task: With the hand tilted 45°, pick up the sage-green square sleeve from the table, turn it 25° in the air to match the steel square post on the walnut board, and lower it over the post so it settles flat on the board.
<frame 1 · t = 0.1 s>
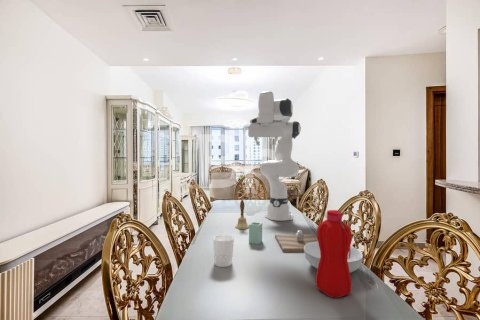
hand: (265, 145, 146), 48 cm above the table, tool pointing down, fingers open, 8 cm apart
board: (299, 244, 124), on the table
serving bowl: (332, 268, 98), on the table
post: (299, 235, 124), on the board, point 4 cm above the table
sleeve: (255, 242, 127), on the table
water bottle: (335, 292, 81), on the table
hand bell: (242, 227, 153), on the table
white cup: (223, 264, 101), on the table
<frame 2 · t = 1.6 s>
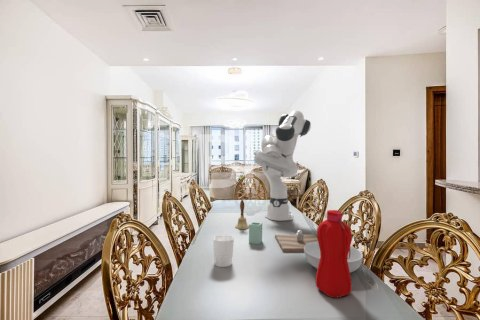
hand: (274, 172, 129), 34 cm above the table, tool tilted 55°, fingers open, 8 cm apart
nothing on the table moved.
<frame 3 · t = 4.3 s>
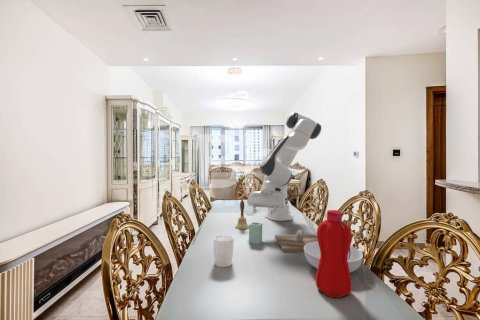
hand: (263, 213, 134), 12 cm above the table, tool tilted 45°, fingers open, 8 cm apart
nothing on the table moved.
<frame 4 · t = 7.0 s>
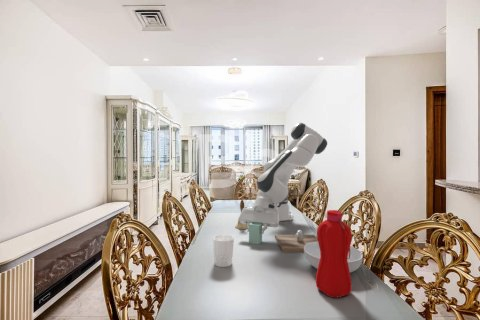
hand: (255, 232, 126), 5 cm above the table, tool tilted 45°, fingers closed on sleeve, 5 cm apart
sleeve: (255, 242, 127), on the table, touching gripper
everything else where it was.
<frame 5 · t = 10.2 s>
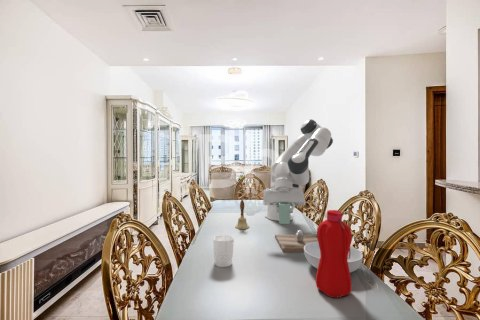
hand: (284, 212, 123), 15 cm above the table, tool tilted 45°, fingers closed on sleeve, 5 cm apart
sleeve: (284, 222, 124), point 10 cm above the table, touching gripper
everything else where it was.
when the fingers open (8 cm above the table, at t = 13.4 s): sleeve drops 1 cm, resting on board.
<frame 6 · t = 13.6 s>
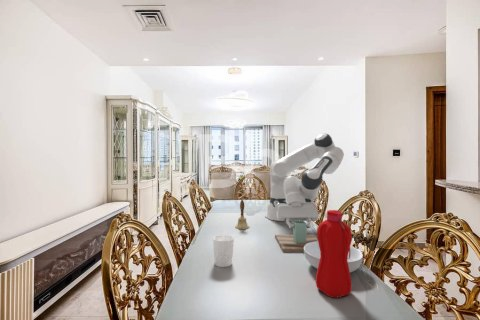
hand: (299, 227, 124), 8 cm above the table, tool tilted 45°, fingers open, 7 cm apart
sleeve: (299, 240, 124), point 1 cm above the table, touching board
everything else where it was.
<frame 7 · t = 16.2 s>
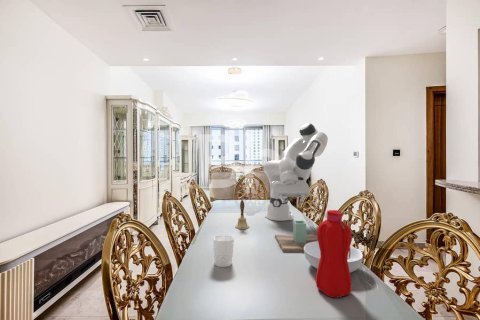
hand: (292, 202, 136), 18 cm above the table, tool tilted 45°, fingers open, 8 cm apart
nothing on the table moved.
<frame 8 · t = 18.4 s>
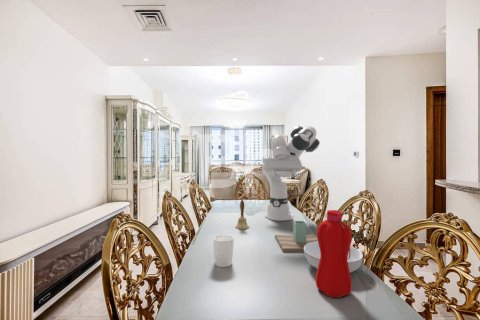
hand: (284, 176, 136), 31 cm above the table, tool tilted 45°, fingers open, 8 cm apart
nothing on the table moved.
at the end: sleeve 0.0 cm off-centre on the post, point 1.5 cm above the post's base; sleeve tilted 0°; the gripper is holding nothing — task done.
